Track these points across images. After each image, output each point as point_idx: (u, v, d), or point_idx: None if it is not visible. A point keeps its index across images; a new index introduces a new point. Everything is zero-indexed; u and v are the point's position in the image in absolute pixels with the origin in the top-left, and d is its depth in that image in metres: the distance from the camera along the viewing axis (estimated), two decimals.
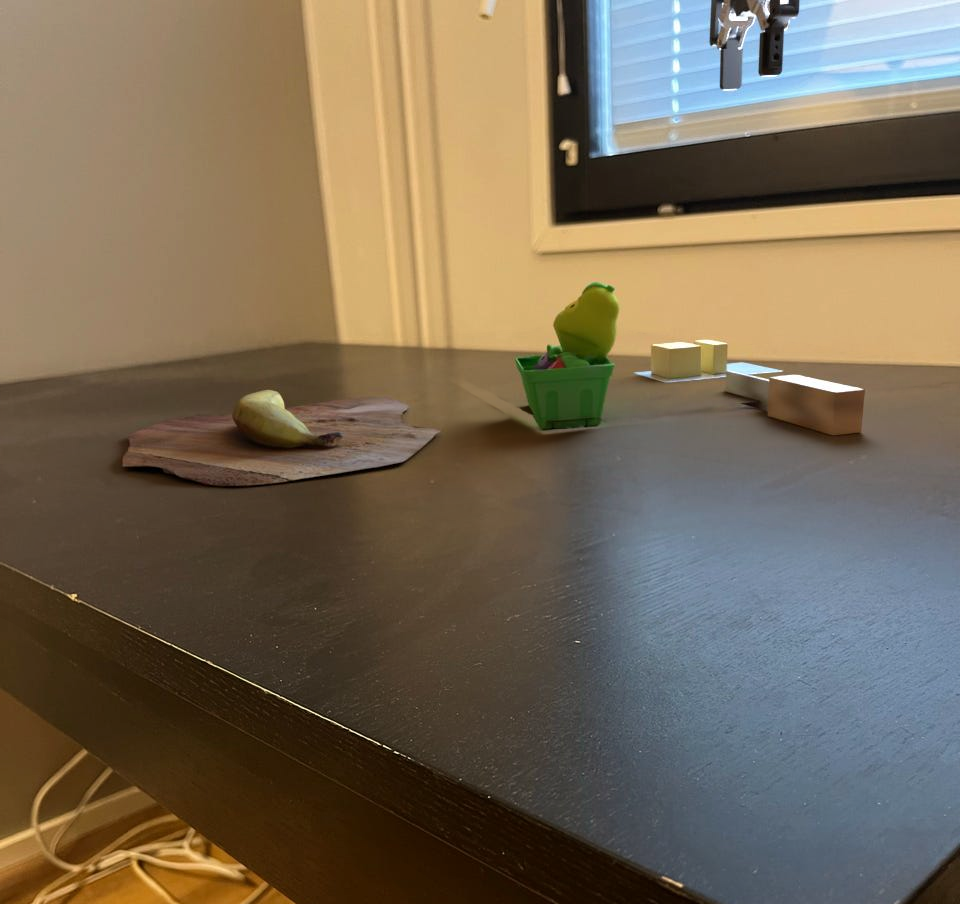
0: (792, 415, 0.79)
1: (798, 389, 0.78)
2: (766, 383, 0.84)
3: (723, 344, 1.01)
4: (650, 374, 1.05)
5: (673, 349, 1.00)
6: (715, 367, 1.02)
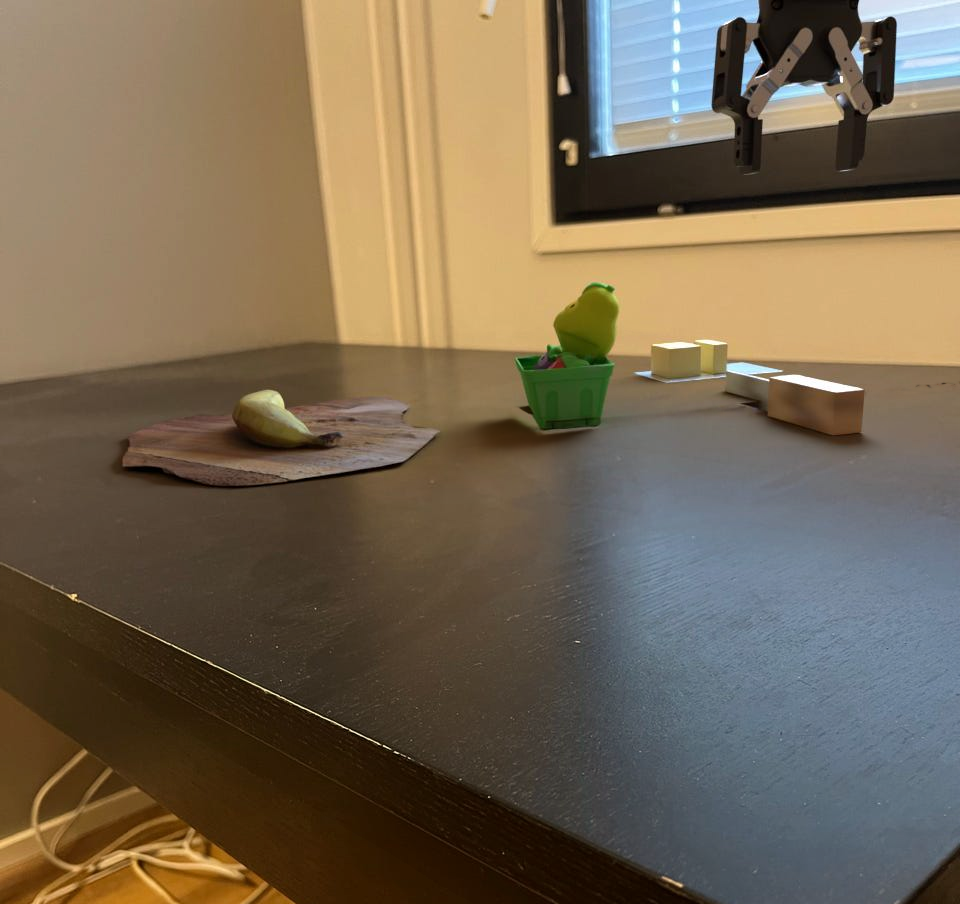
0: (792, 415, 0.79)
1: (798, 389, 0.78)
2: (766, 383, 0.84)
3: (723, 344, 1.01)
4: (650, 374, 1.05)
5: (673, 349, 1.00)
6: (715, 367, 1.02)
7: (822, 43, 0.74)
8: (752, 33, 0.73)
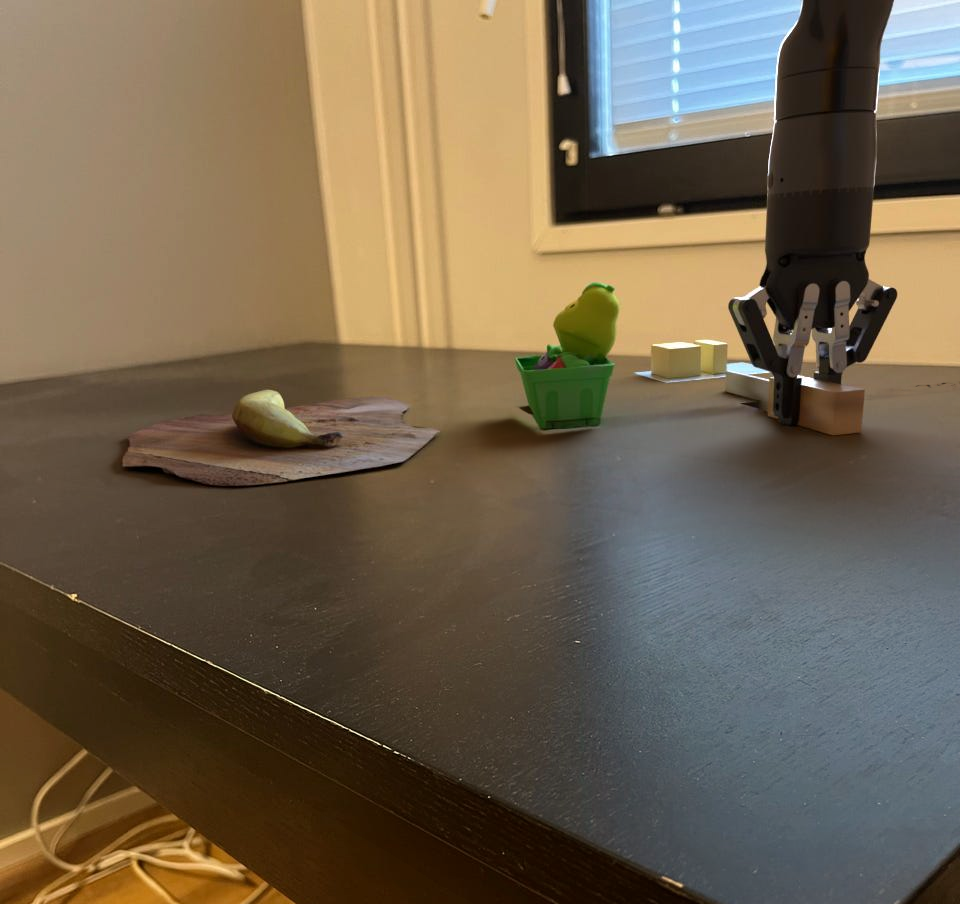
0: None
1: None
2: (766, 383, 0.84)
3: (723, 344, 1.01)
4: (650, 374, 1.05)
5: (673, 349, 1.00)
6: (715, 367, 1.02)
7: (829, 293, 0.75)
8: (762, 298, 0.74)
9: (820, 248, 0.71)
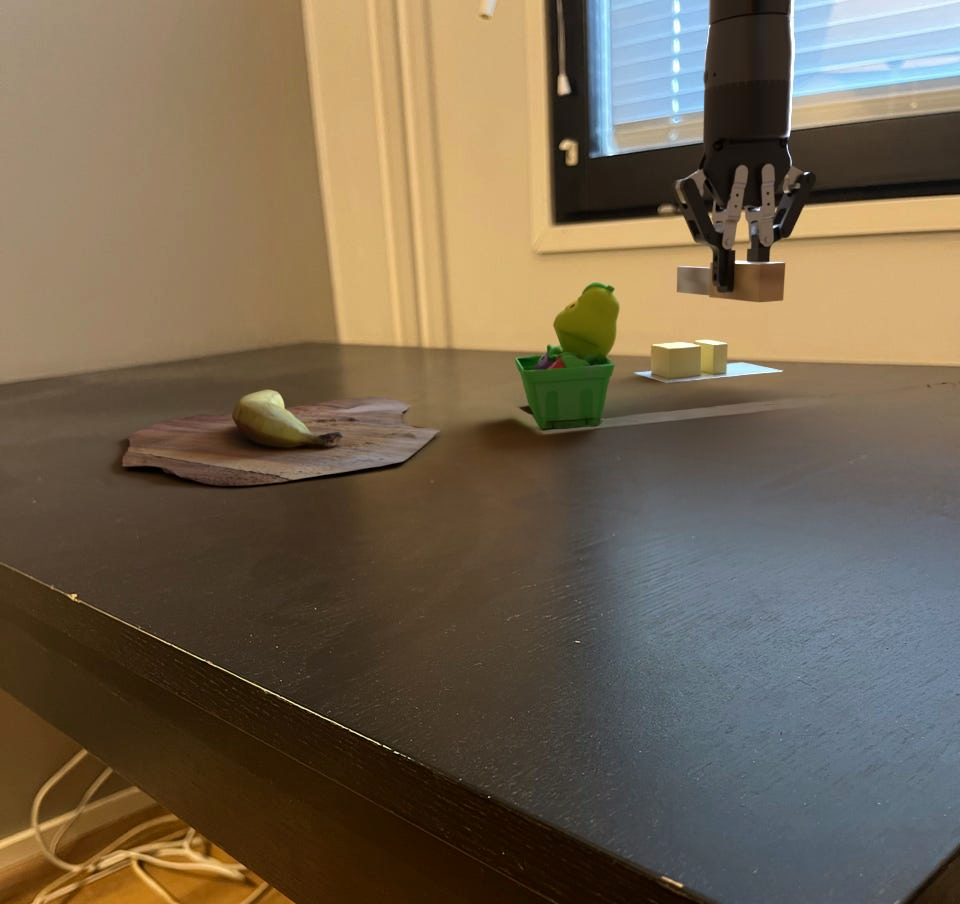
0: None
1: None
2: (709, 270, 0.98)
3: (723, 344, 1.01)
4: (650, 374, 1.05)
5: (673, 349, 1.00)
6: (715, 367, 1.02)
7: (757, 175, 0.88)
8: (700, 179, 0.88)
9: (746, 132, 0.84)
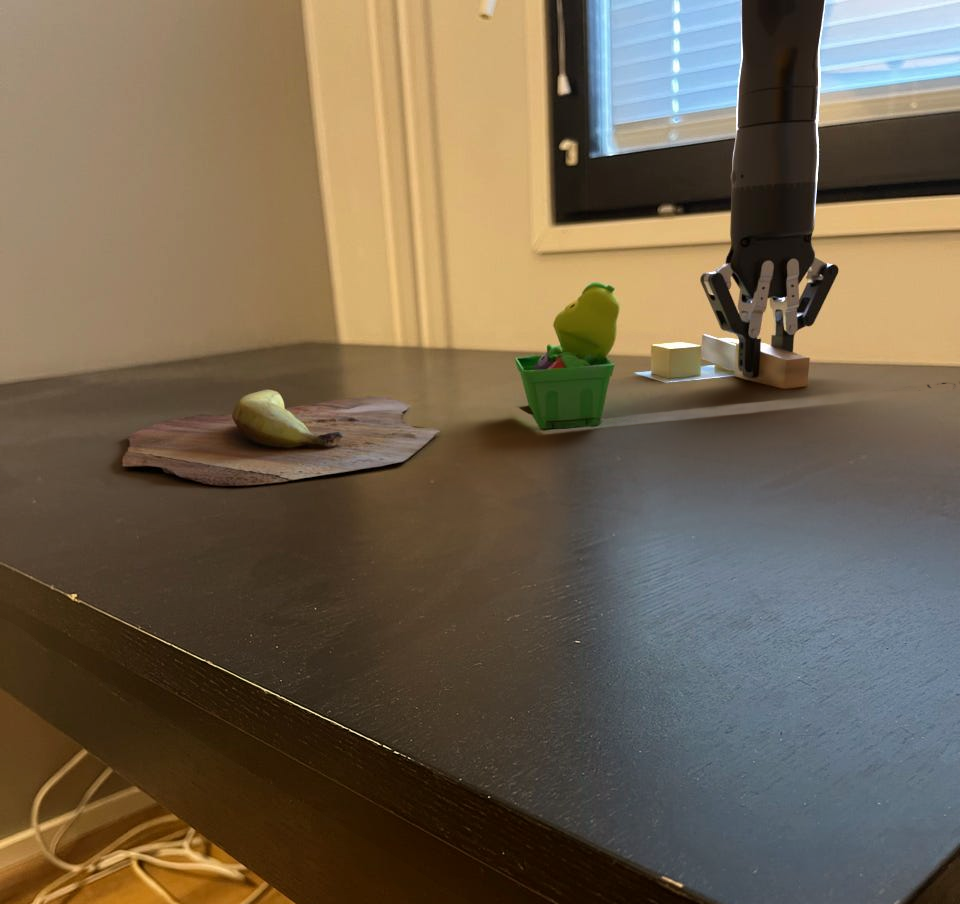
0: None
1: None
2: (734, 347, 1.01)
3: None
4: (650, 374, 1.05)
5: (673, 349, 1.00)
6: None
7: (782, 269, 0.92)
8: (728, 273, 0.91)
9: (773, 232, 0.88)
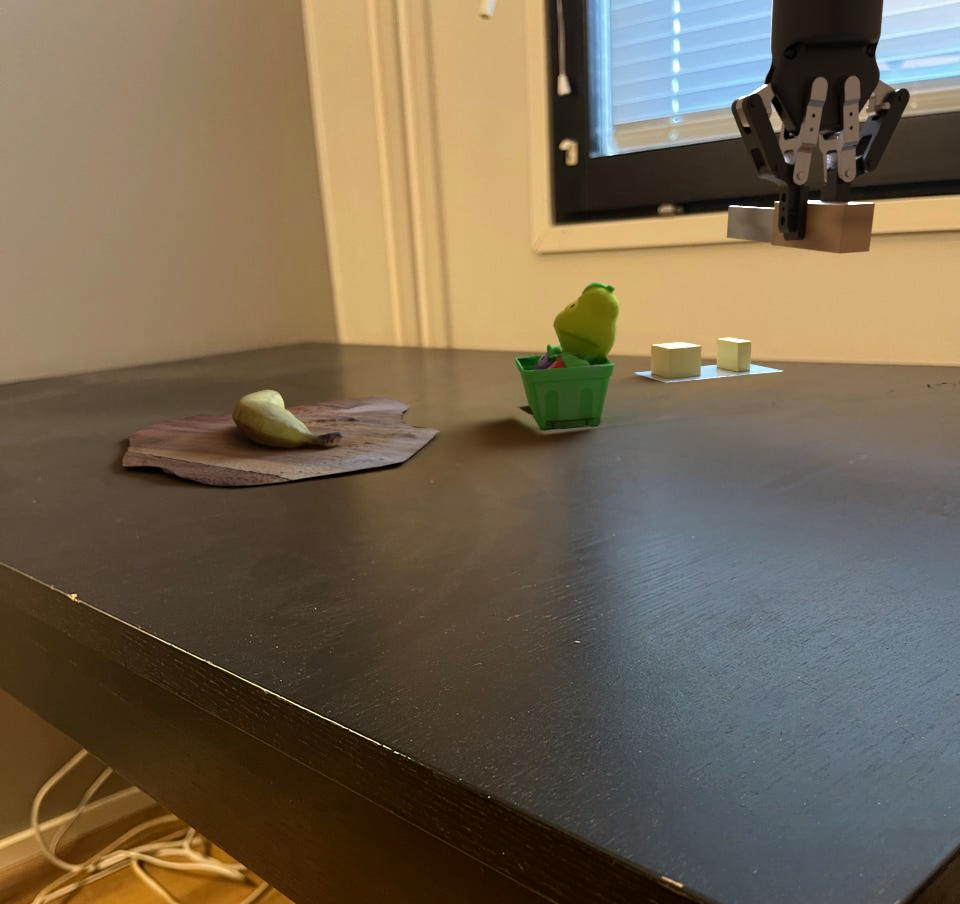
0: None
1: None
2: (771, 212, 0.80)
3: (747, 342, 1.02)
4: (650, 374, 1.05)
5: (673, 349, 1.00)
6: (738, 365, 1.02)
7: (837, 91, 0.71)
8: (767, 96, 0.71)
9: (829, 33, 0.67)
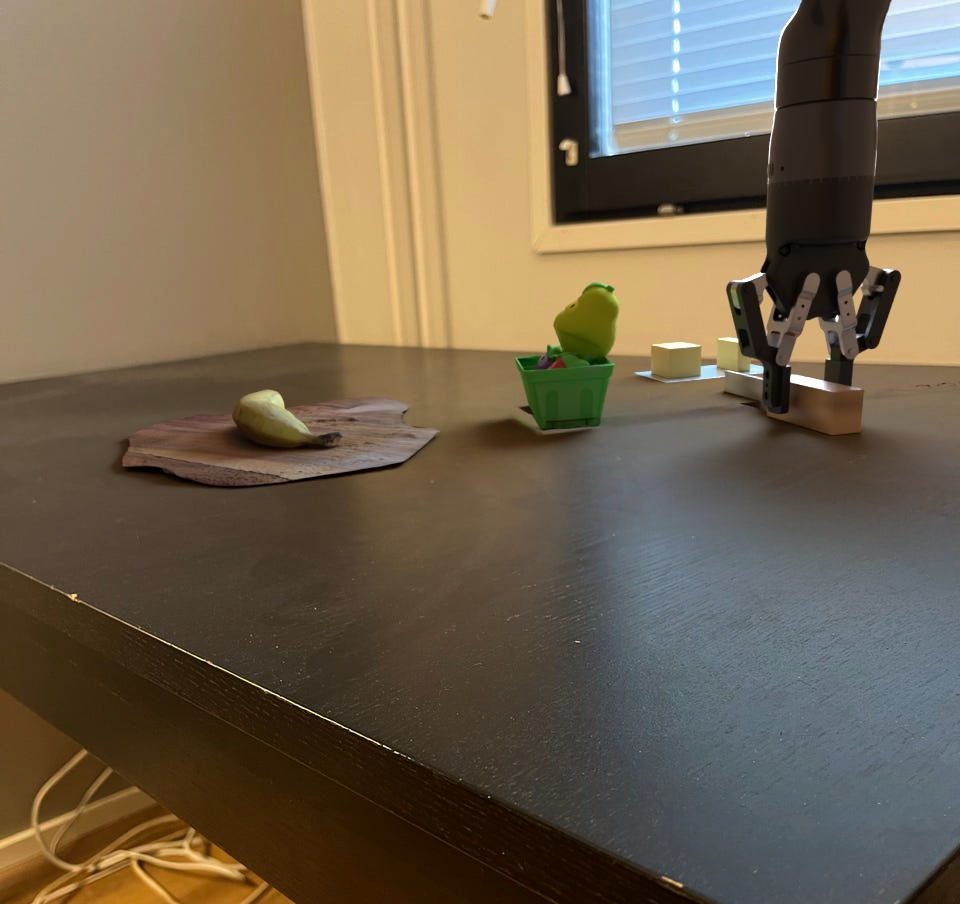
0: (791, 415, 0.79)
1: (797, 389, 0.78)
2: None
3: None
4: (650, 374, 1.05)
5: (673, 349, 1.00)
6: (738, 365, 1.02)
7: (829, 283, 0.74)
8: (761, 284, 0.74)
9: (820, 237, 0.71)
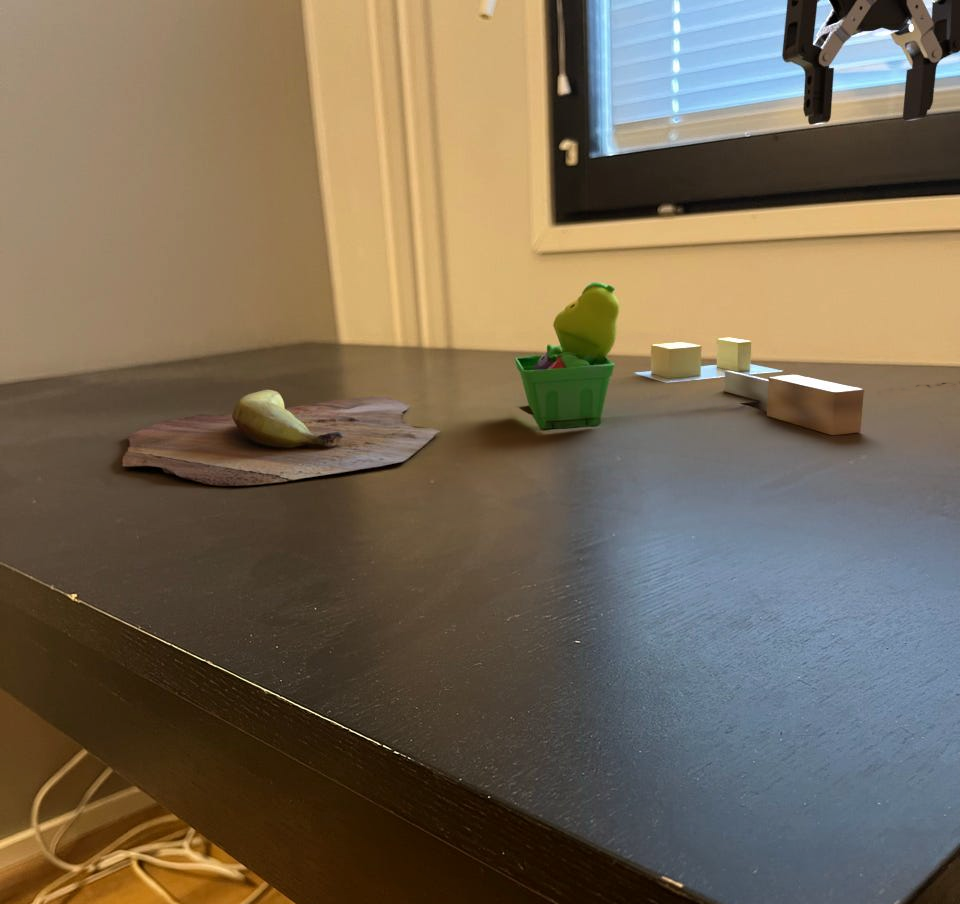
0: (791, 415, 0.79)
1: (797, 389, 0.78)
2: (765, 383, 0.84)
3: (747, 342, 1.02)
4: (650, 374, 1.05)
5: (673, 349, 1.00)
6: (738, 365, 1.02)
7: None
8: None
9: None
